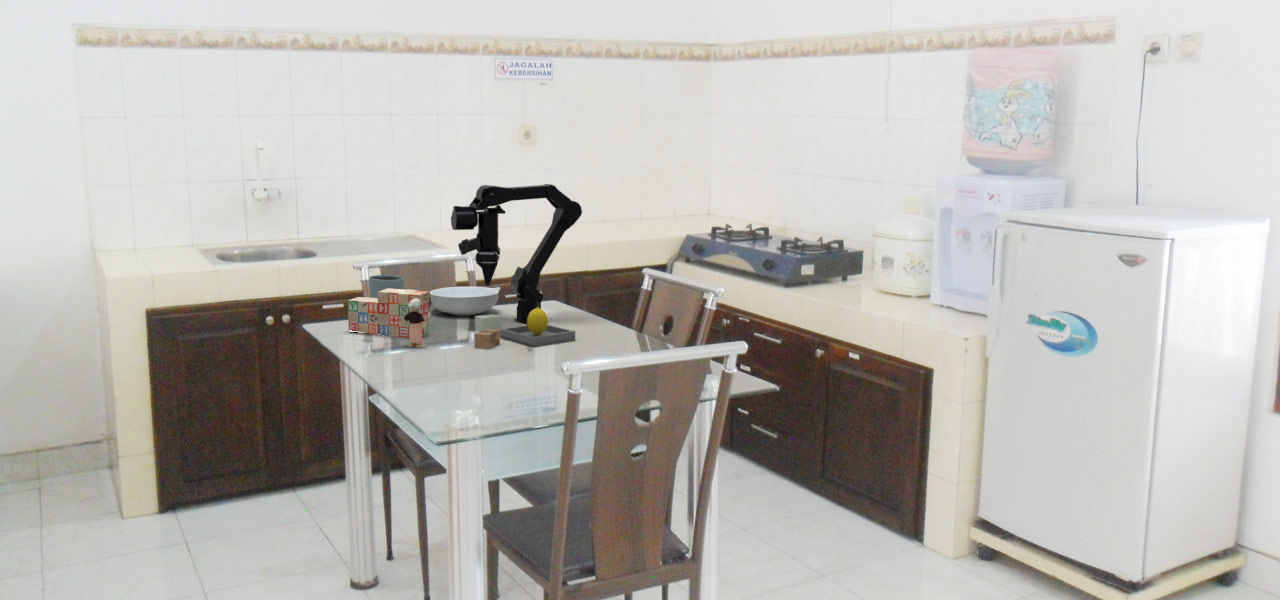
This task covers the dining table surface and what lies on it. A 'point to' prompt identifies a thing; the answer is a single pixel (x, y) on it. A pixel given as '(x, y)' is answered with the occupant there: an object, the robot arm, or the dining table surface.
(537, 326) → the lemon
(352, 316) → the stack of blocks
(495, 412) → the dining table surface
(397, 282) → the blue-grey pot
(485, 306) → the serving bowl
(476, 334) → the walnut block
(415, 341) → the grandmother figurine
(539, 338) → the charcoal tray
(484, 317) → the sage block
